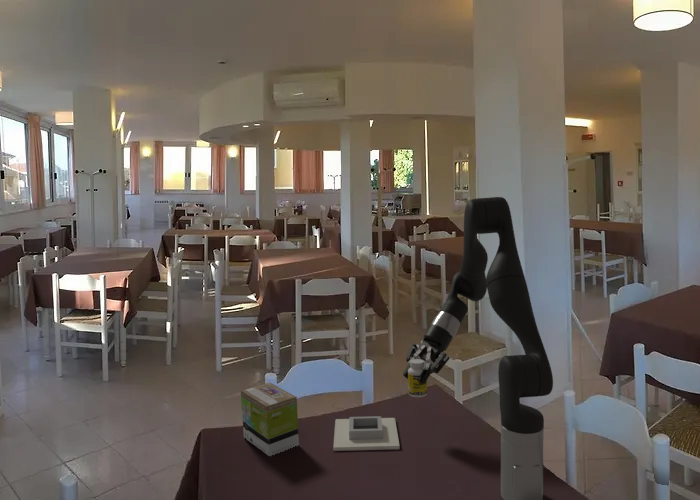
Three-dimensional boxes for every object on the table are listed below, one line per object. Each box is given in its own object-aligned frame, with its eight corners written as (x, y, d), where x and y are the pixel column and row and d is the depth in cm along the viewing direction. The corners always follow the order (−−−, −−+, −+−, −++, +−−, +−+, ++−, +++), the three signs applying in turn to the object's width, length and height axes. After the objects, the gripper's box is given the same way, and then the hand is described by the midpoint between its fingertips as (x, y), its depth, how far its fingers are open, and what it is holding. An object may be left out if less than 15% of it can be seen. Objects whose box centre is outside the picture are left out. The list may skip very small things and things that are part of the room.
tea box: (242, 438, 161) (239, 389, 159) (272, 428, 168) (270, 381, 166) (269, 458, 150) (266, 405, 148) (300, 446, 156) (298, 395, 154)
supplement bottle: (412, 399, 156) (411, 365, 155) (405, 392, 161) (404, 359, 160) (430, 396, 158) (429, 362, 156) (423, 389, 163) (422, 357, 162)
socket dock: (399, 449, 152) (399, 437, 152) (333, 450, 152) (333, 438, 152) (394, 420, 170) (394, 409, 170) (335, 422, 170) (335, 411, 170)
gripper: (418, 319, 167) (388, 366, 162) (453, 328, 156) (423, 379, 150) (431, 333, 171) (402, 380, 165) (467, 343, 160) (437, 393, 154)
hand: (412, 379), depth 158 cm, fingers closed on supplement bottle, 5 cm apart
